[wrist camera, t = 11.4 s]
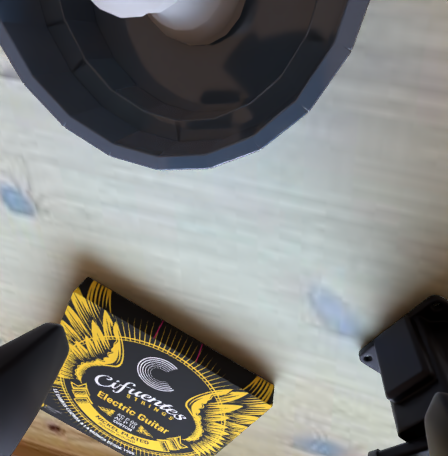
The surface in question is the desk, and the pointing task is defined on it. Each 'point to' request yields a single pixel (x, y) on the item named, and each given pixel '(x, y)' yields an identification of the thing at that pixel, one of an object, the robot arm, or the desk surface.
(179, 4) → the rook chess piece
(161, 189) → the desk surface
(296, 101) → the basin
